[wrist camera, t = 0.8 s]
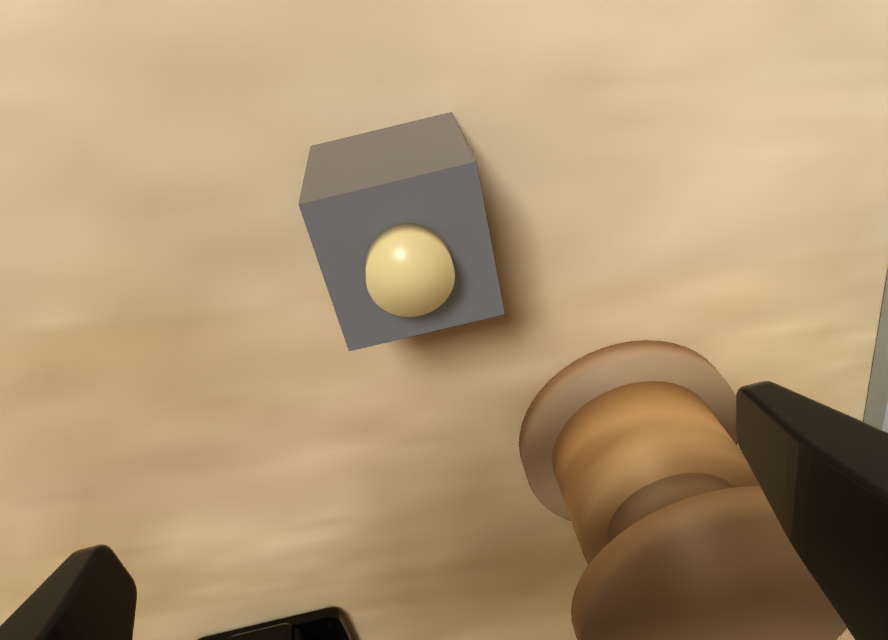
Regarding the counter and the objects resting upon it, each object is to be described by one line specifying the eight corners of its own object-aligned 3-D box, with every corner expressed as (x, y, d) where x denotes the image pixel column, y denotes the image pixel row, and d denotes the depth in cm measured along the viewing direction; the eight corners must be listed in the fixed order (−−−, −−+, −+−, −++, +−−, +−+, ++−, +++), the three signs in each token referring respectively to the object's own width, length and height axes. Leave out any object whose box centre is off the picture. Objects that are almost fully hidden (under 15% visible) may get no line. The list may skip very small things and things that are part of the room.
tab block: (476, 240, 20) (511, 331, 16) (350, 270, 21) (348, 369, 16) (451, 112, 18) (481, 173, 14) (311, 145, 18) (296, 217, 14)
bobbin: (726, 481, 27) (851, 669, 20) (534, 526, 27) (594, 729, 20) (730, 317, 23) (889, 483, 16) (503, 371, 23) (566, 559, 16)
